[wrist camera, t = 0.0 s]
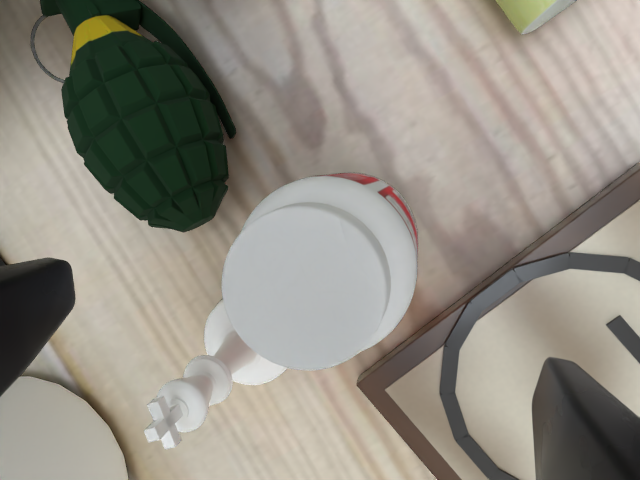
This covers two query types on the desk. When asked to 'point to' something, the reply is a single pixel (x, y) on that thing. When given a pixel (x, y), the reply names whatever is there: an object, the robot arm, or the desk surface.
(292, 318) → the pill bottle
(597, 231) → the board
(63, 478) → the can
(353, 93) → the desk surface
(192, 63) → the grenade
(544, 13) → the tube
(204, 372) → the chess piece
